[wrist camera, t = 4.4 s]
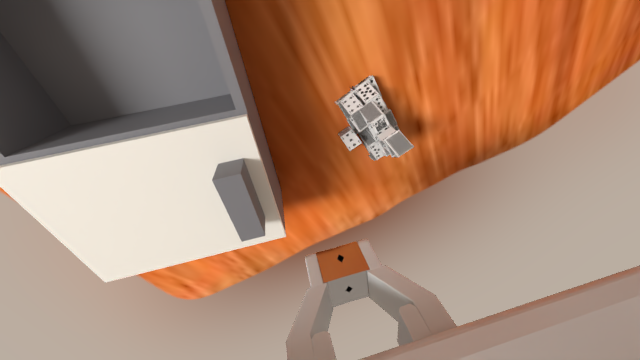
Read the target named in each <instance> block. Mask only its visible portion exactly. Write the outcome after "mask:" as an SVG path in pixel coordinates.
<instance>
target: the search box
mask: <svg viewBox="0 0 640 360" xmlns="http://www.w3.org/2000/svg"><path fill="white" fill-rule="evenodd" d="M244 114H247V115H248V118H249V121H250V124H251V127H252V130H253V133H254V137H255V140H256V143H257V146H258V149H259V152H260V155H261V158H262V161H263V164H264V167H265V170H266V173H267V177H268V180H269V183H270V186H271V189H272V192H273V195H274V198H275V201H276V204H277V207H278V210H279V213H280V217H281V220H282V223H283V226H284V229H285V221H284V211H283V201H282V192H281V187H280V184H279V181H278V177H277V174H276V171H275V167H274V164H273V160H272V157H271V154H270V150H269V147H268V144H267V140H266V137H265V134H264V130H263V127H262V124H261V120H260V117H259V113H258V110H257V107H256V103H255V100H254V97H253V93H252V90H251V87H250V83H249V80H248V77H247V73H246V70H245V66H244V63H243V60H242V56H241V53H240V50H239V46H238V43H237V40H236V36H235V33H234V30H233V26H232V23H231V19H230V16H229V13H228V9H227V6H226V3H225V0H0V165H4V164H9V163H14V162H19V161H23V160H28V159H33V158H38V157H43V156H47V155H52V154H57V153H62V152H67V151H71V150H76V149H81V148H86V147H91V146H95V145H100V144H105V143H110V142H115V141H119V140H124V139H129V138H134V137H139V136H143V135H148V134H153V133H158V132H163V131H167V130H172V129H177V128H182V127H187V126H191V125H196V124H201V123H206V122H211V121H216V120H220V119H225V118H230V117H235V116H240V115H244Z"/></svg>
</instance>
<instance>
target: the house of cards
mask: <svg viewBox="0 0 640 360" xmlns="http://www.w3.org/2000/svg"><path fill="white" fill-rule="evenodd" d="M352 87H353V86H352ZM353 89H354V90H353ZM353 89H351V88H350V90H351V91H349V92H348V93H347V94H345V95H344V96H342V97H341V98H340V99H338V100H337V101H336V102H334V103H335V104H336V105H339V107H340V108H341V110H342V112H343V113H344V115H345V117H346V118H347V121H348V123H349V125H350V126H351V128H352V129H351V128H350V127H349V126H348V127H347V128H345V129H344V130H342V131H341V132H339V133H338V135H339V136H340V138H341V139H342V141H343V142H344V144H345V145H346V146H347V148H348V149H349V151H351V150H352V149H354V148H355V147H357V146H358V145H360V144H361V143H362V142H361V140H360V139H359V138H358V136H357V135H356V134H357V133H358V134H359V136H360V137H361V139H362V141H363V142H364V143H363V144H364V146H365V147H366V149H367V151H368V152H369V154H370V155H369V157H370V158H371V159H373V160H374V161H375V160H378V159H380V158H381V157H383V156H386V157H387V156H388V155H390V154H391V156H392V158H393V157H399V156H401V155H402V154H404V153H405V152H407V151H409V150H410V149H412V148H413V147H414V146H413V145H412V144H411V143H410V141H409V140H408V139H407V138H406V137H405V136H404V135H403V134H402V132H401V131H400V130H399V128H398V126H396V125H397V122H396V120H395V118H394V116H393V113H392V111H391V109H388V108H387V106H386V104H385V102H384V101H383V99H382V97H381V96H382V95H381V93H380V90H379V87H378V85H377V83H376V81H375V79H374V77H373V76H368V77H367V78H366V79H364V80H363V81H361V82H360V83H359V84H357V85H356V86H355V87H353Z"/></svg>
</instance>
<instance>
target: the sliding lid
mask: <svg viewBox="0 0 640 360" xmlns="http://www.w3.org/2000/svg"><path fill="white" fill-rule="evenodd" d="M0 187H1V188H2V189H3V190H4V191H6V192H7V193H8V194H9V195H10V196H11V197H12V198H13V199H14V200H15V201H17V202H18V203H19V204H20V205H21V206H22V207H23V208H24V209H25V210H26V211H27V212H29V213H30V214H31V215H32V216H33V217H34V218H35V219H36V220H37V221H39V222H40V223H41V224H42V225H43V226H44V227H45V228H46V229H47V230H48V231H49V232H50V233H52V234H53V235H54V236H55V237H56V238H57V239H58V240H59V241H60V242H62V243H63V244H64V245H65V246H66V247H67V248H68V249H69V250H70V251H71V252H72V253H73V254H75V255H76V256H77V257H78V258H79V259H80V260H81V261H82V262H83V263H84V264H85V265H87V266H88V267H89V268H90V269H91V270H92V271H93V272H94V273H95V274H96V275H98V276H99V277H100V278H101V279H102V280H103V281H104V282H109V281H113V280H117V279H121V278H125V277H129V276H133V275H137V274H141V273H145V272H149V271H153V270H157V269H161V268H165V267H169V266H172V265H176V264H180V263H184V262H188V261H192V260H196V259H200V258H204V257H208V256H212V255H216V254H220V253H224V252H228V251H232V250H235V249H239V248H243V247H247V246H251V245H255V244H259V243H263V242H267V241H271V240H275V239H279V238H283V237H286V232H285V229H284V226H283V223H282V220H281V217H280V213H279V210H278V207H277V204H276V201H275V198H274V195H273V192H272V189H271V186H270V183H269V180H268V177H267V173H266V170H265V167H264V164H263V161H262V158H261V155H260V152H259V149H258V146H257V143H256V140H255V137H254V133H253V130H252V127H251V124H250V121H249V118H248V115H247V114H244V115H240V116H235V117H230V118H225V119H220V120H216V121H211V122H206V123H201V124H196V125H191V126H187V127H182V128H177V129H172V130H167V131H163V132H158V133H153V134H148V135H143V136H139V137H134V138H129V139H124V140H119V141H115V142H110V143H105V144H100V145H95V146H91V147H86V148H81V149H76V150H71V151H67V152H62V153H57V154H52V155H47V156H43V157H38V158H33V159H28V160H23V161H19V162H14V163H9V164H4V165H0Z"/></svg>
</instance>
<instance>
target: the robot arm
mask: <svg viewBox="0 0 640 360" xmlns="http://www.w3.org/2000/svg"><path fill="white" fill-rule="evenodd" d="M316 256H317V257H316ZM305 261H306V265H307V271H308V275H309V280H310V285H311V287H310V288H308V289H307V291H306V294H305V296H304V299H303V301H302V304H301V306H300V309H299V311H298V314H297V316H296V318H295V321H294V323H293V326H292V328H291V331H290V333H289V336H288V338H287V341H286V348H287V360H336V356H335V352H334V349H333V345H332V341H331V338H330V334H329V333H328V328H329V324H330V320H331V316H332V312H333V307H336V306H338V305H341V304H344V303H347V302H350V301H354V300H358V299H361V298H365V297H368V296H369V298H371V299H372V300H373V301H374V302H375V303H376V304H378V305H379V306H380V307H381V308H382V309H383V310H385V311H386V312H387V313H388V314H389V315H391V316H392V317H393V318H394V319H395V320H396V321H398V339H397V341H398V344H399V346H398V347H395V348H392V349H389V350H387V351H383V352H380V353H377V354H375V355H371V356H369V357H365V358H362V359H360V360H640V266H637V267H634V268H631V269H628V270H625V271H622V272H619V273H616V274H613V275H610V276H607V277H604V278H601V279H598V280H595V281H592V282H589V283H586V284H583V285H580V286H577V287H574V288H571V289H568V290H565V291H562V292H559V293H556V294H553V295H550V296H547V297H544V298H541V299H538V300H536V301H533V302H529V303H526V304H524V305H520V306H517V307H515V308H512V309H509V310H506V311H503V312H500V313H497V314H494V315H491V316H488V317H485V318H482V319H479V320H476V321H473V322H470V323H467V324H464V325H461V326H458V327H457V326H456V324H455V323H454V321H453V320H452V319H451V317H450V316H449V314H448V313H447V312H446V310H445V308H444V307H443V306H442V304H441V303H440V301H439V300H438V298H437V297H436V295H434V294H433V293H431V292H429V291H428V290H426V289H424V288H423V287H421V286H419V285H418V284H416V283H414V282H413V281H411V280H409V279H408V278H406V277H404V276H403V275H401V274H399V273H398V272H396V271H394V270H393V269H391V268H389V267H387V266H386V265H385V266H382V264H381V263H380V261H379V259H378V257H377V255H376V254H375V252H374V250H373V248H372V246H371V244H370V242H369V241H368V239H364V240H360V241H357V242H352V243H349V244H346V245H342V246H339V247H336V248H333V249H329V250H325V251H321V252H317V253H314V254H310V255H307V256H305Z"/></svg>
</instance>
